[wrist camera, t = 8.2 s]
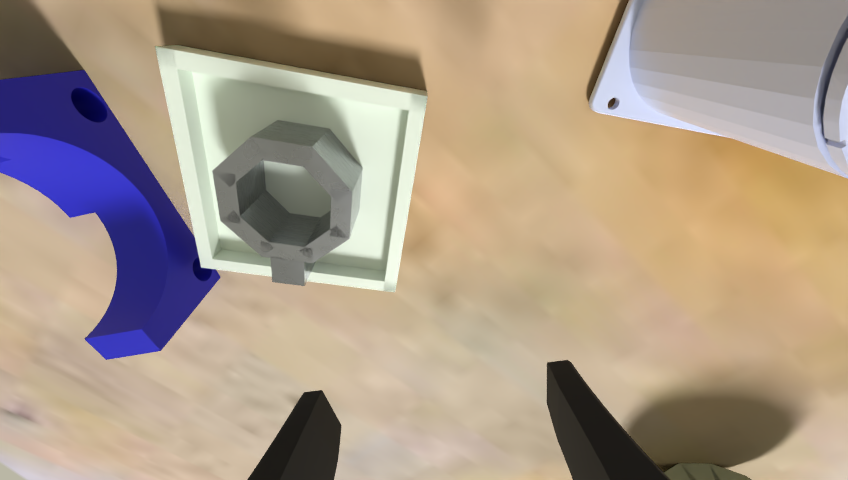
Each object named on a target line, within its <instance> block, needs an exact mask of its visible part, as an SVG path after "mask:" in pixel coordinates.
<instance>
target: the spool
mask: <svg viewBox="0 0 848 480" xmlns="http://www.w3.org/2000/svg"><path fill="white" fill-rule="evenodd" d="M664 474H665V475H666V476H667V477H668V478H669V479H670V480H751V479H750V478H748V477H747V476H745V475H742V474H739V473H736V472H733V471H731V470H728V469H725V468H722V467H719V466H717V465H714V464H708V463H679V464H677V465H675V466H674V467H672V468H670V469H669V470H667V471H666V472H664Z"/></svg>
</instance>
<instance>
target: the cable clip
mask: <svg viewBox="0 0 848 480" xmlns="http://www.w3.org/2000/svg"><path fill="white" fill-rule="evenodd" d="M0 173H3V174H6V175H8V176H10V177H13V178H15V179H17V180H19V181H21V182H23V183H26V184H28V185H29V186H31V187H33V188H34V189H36V190H38V191H39V192H41V193H42V194H44V195H45V196H47V197H48V198H49V199H51V200H52V201H53V202H54V203H55V204H57V205H58V206H59V207H60V208H61V209H62V210H63V211H64V212H65V213H66V214H67V215H68V216H69V217H70V218H71V217H75V216H80V215H85V214H89V213H94V212H95V213H96V214H97V215H98V217H99V218H100V220H101V221H102V223H103V224H104V226H105V228H106V230H107V231H108V233H109V236H110V238H111V241H112V243H113V247H114V250H115V255H116V260H117V280H116V287H115V291H114V294H113V297H112V300H111V303H110V305H109V307H108V309H107V311H106V313H105V315H104V316H103V318H102V319H101V321H100V322H99V323H98V325H97V326H96V327H95V328H94V330H93V331H92V332H91V333H90V334H89V335H88V336H87V337H86V338H85V340H86V341H87V342H88V343H89V344H90V345H91V346H92V347H93V348H94V349H95V350H97V351H98V352H99V353H100V354H101V355H102V356H103V357H104V358H105V359H106V360H107V359H113V358H120V357H126V356H132V355H138V354H144V353H150V352H156V351H161V350H162V349H163V347H164V346H165V345H166V344H167V343H168V341H169V340H170V339H171V338H172V336H173V335H174V334H175V333H176V331H177V330H178V329H179V328H180V327H181V325H182V324H183V323H184V322H185V320H186V319H187V318H188V317H189V315H190V314H191V313H192V312H193V311H194V309H195V308H196V307H197V306H198V304H199V303H200V302H201V301H202V299H203V298H204V297H205V296H206V295H207V293H208V292H209V291H210V290H211V288H212V287H213V286H214V285H215V283H216V282H217V281H218V280H219V279H220V275H219V274H218V272H217V271H216V269H209V268H201V264H200V260H199V255H198V250H197V245H196V240H195V237H194V236H193V234H192V233H191V231H190V230H189V228H188V227H187V225H186V224H185V222H184V221H183V219H182V218H181V216H180V215H179V213H178V212H177V210H176V209H175V207H174V205H173V204H172V202H171V201H170V199H169V198H168V196H167V195H166V193H165V192H164V190H163V189H162V187H161V186H160V184H159V183H158V181H157V180H156V178H155V177H154V175H153V174H152V172H151V171H150V169H149V167H148V166H147V164H146V163H145V161H144V160H143V158H142V157H141V155H140V154H139V152H138V151H137V149H136V148H135V146H134V145H133V143H132V142H131V140H130V139H129V137H128V136H127V134H126V132H125V131H124V129H123V128H122V126H121V125H120V123H119V122H118V120H117V119H116V117H115V116H114V114H113V113H112V111H111V110H110V108H109V107H108V105H107V104H106V102H105V101H104V99H103V98H102V96H101V94H100V93H99V91H98V90H97V88H96V87H95V85H94V84H93V82H92V81H91V79H90V78H89V76H88V75H87V73H86V72H85V70H80V71H71V72H63V73H54V74H46V75H37V76H28V77H20V78H11V79H3V80H0Z"/></svg>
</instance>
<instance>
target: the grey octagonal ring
mask: <svg viewBox="0 0 848 480" xmlns="http://www.w3.org/2000/svg"><path fill="white" fill-rule="evenodd" d="M264 161H270V162H277V163H283V164H290V165H296V166H302V167H304V168H305V169H306V170H307V171H308V172H309V173H310V174H311V175H312V177H313V178H314V179H315V180H316V181H317V182H318V183H319V184H320V185H321V186H322V187H323V188H324V189H325V191H326V192H327V193H328V194H329V195H330V196H331V210H330V211H329V212H328V213H326V214H325V215H323V216H322V217H314V216H307V215H300V214H293V213H289V212H288V211H287V210H286V209H285V208H284V207H283V206H282V205H281V204H280V203H279V202H278V201H277V200H276V199H275V198H274V197H273V196H272V195H271V194H270V193H269V192H268V191H267V190H266V183H265V170H264ZM362 171H363V168H362V167H361V165H360V164H359V163H358V162H357V161H356V159H355V158H354V157H353V156H352V155H351V153H350V152H349V151H348V150H347V149H346V148H345V146H344V145H343V144H342V143H341V142H340V140H339V139H338V138H337V137H336V136H335V134H334V133H333V132H332V131H331V130H330V129H329V128H323V127H317V126H311V125H306V124H300V123H294V122H288V121H282V120H277V121H275V122H274V123H272V124H270V125H269V126H267V127H266V128H264V129H262V130H261V131H259V132H258V133H256V134H254V135H253V136H251V137H250V138H249V139H248V140H246V141H245V142H244V143H243V144H242V145H241V146H240V147H238V148H237V149H236V150H235V151H234V152H233V153H232V154H231V155H229V156H228V157H227V158H226V159H225V160H224V161H223V162H221V163H220V164H219V165H218V166H217V167H216V168H215V169H214V170H212V172H213V178H214V185H215V191H216V197H217V203H218V209H219V216H220V221H221V222H222V223H223V224H225V225H226V226H227V227H228V228H229V229H230V230H231V231H233V232H234V233H235V234H236V235H237V236H238V237H240V238H241V239H242V240H243V241H244V242H245V243H247V244H248V245H249V246H250V247H251V248H252V249H254V250H255V251H256V252H257V253H258V254H259V255H261V256H262V257H268V258H271V270H272V282H277V283H285V284H293V285H301V286H305V284H306V282H307V280H308V278H309V275H310V273H311V271H312V269H313V267H314V264H315V262H316V261H317V260H318V259H320V258H321V257H323V256H324V255H326V254H327V253H329V252H330V251H332V250H333V249H335V248H336V247H338V246H339V245H341V244H342V243H344V242H345V241H347V240H348V239H350V236H351V233H352V230H353V227H354V224H355V221H356V219H357V216H358V213H359V209H360V197H361V184H362Z"/></svg>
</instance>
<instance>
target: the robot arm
mask: <svg viewBox="0 0 848 480" xmlns="http://www.w3.org/2000/svg"><path fill="white" fill-rule="evenodd" d="M612 98H615V104H614V105H613V106H612V107H611V108H608V102H609V101H610V100H611V99H612ZM589 107H590V108H591V110H593V111H595V112H597V113H601V114H607V115H612V116H617V117H623V118H628V119H633V120H638V121H644V122H649V123H654V124H660V125H665V126H670V127H676V128H681V129H686V130H692V131H697V132H702V133H707V134H713V135H718V136H723V137H729V138H732V139H735V140H738V141H741V142H744V143H747V144H750V145H753V146H756V147H759V148H761V149H764V150H767V151H770V152H773V153H776V154H779V155H782V156H785V157H787V158H790V159H793V160H796V161H799V162H802V163H805V164H808V165H811V166H814V167H816V168H819V169H822V170H825V171H828V172H831V173H834V174H837V175H840V176H842V177H845V178H848V0H629V1H628V4H627V7H626V9H625V12H624V14H623V17H622V19H621V22H620V24H619V27H618V29H617V32H616V34H615V37H614V39H613V42H612V44H611V47H610V49H609V52H608V54H607V57H606V59H605V62H604V64H603V67H602V69H601V72H600V74H599V77H598V79H597V82H596V84H595V87H594V89H593V92H592V94H591V97H590V100H589ZM547 405H548V408H549V412H550V416H551V419H552V423H553V426H554V430H555V433H556V436H557V439H558V442H559V445H560V447H561V450H562V452H563V455H564V457H565V460H566V463H567V465H568V468H569V470H570V473H571V475H572V478H573V480H670V479H669V478H668V477H667V476H666V475H665V474H664V472H663V471H662V470H661V469H660V468H659V467H658V466H657V465H656V464H655V463H654V462H653V461H652V460H651V459H650V458H649V457H648V456H647V455H646V453H645V452H644V451H643V450H642V449H641V448H640V447H639V446H638V445H637V444H636V443H635V441H634V440H633V439H632V438H631V437H630V436H629V435H628V434H627V432H626V431H625V430H624V429H623V428H622V427H621V425H620V424H619V423H618V422H617V421H616V420H615V418H614V417H613V416H612V415H611V414H610V413H609V411H608V410H607V409H606V408H605V407H604V405H603V404H602V403H601V402H600V400H599V399H598V398H597V397H596V395H595V394H594V393H593V392H592V390H591V389H590V388H589V386H588V385H587V384H586V382H585V381H584V380H583V378H582V377H581V376H580V374H579V373H578V372H577V370H576V369H575V367H574V366H573V364H572V363H571V362H570V361H568V360H564V361H556V362H548V363H547ZM340 435H341V424H340V422H339V420H338V418H337V417H336V415H335V413H334V411H333V409H332V407H331V406H330V404H329V402H328V400H327V398H326V397H325V395H324V393H323V391H322V390H320V391H311V392H304V393H303V395H302V396H301V398H300V399H299V401H298V402H297V404H296V406H295V407H294V409H293V410H292V412H291V414H290V415H289V417H288V419H287V420H286V422H285V423H284V425H283V426H282V428H281V430H280V431H279V433H278V434H277V436H276V437H275V439H274V441H273V442H272V444H271V445H270V447H269V448H268V450H267V451H266V453H265V454H264V456H263V457H262V459H261V460H260V462H259V463H258V465H257V466H256V468H255V469H254V471H253V472H252V474H251V475H250V477H249V478H248V480H334V476H335V472H336V467H337V462H338V454H339V445H340Z"/></svg>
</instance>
